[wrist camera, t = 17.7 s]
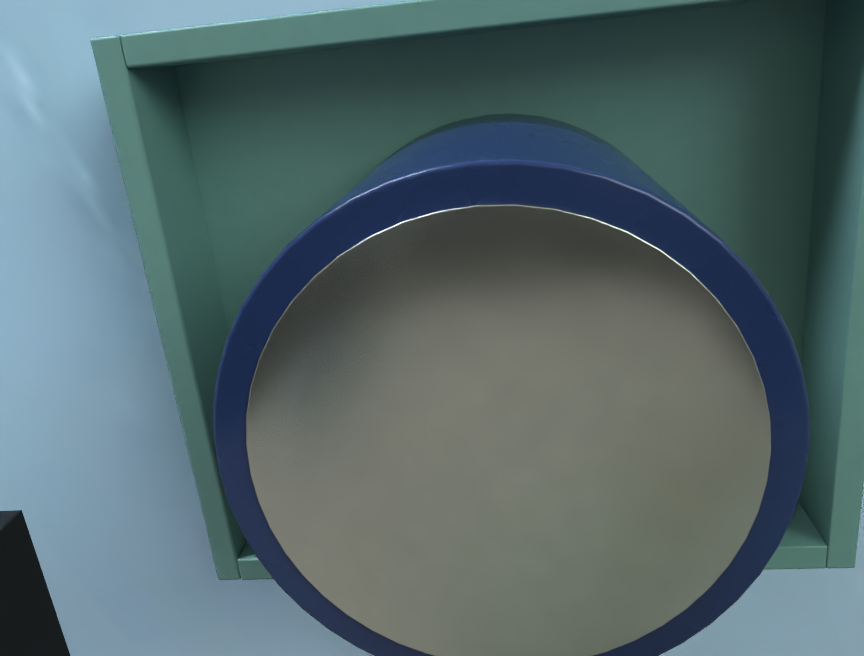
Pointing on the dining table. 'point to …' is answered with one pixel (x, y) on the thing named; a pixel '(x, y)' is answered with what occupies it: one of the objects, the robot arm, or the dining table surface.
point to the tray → (507, 94)
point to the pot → (511, 405)
